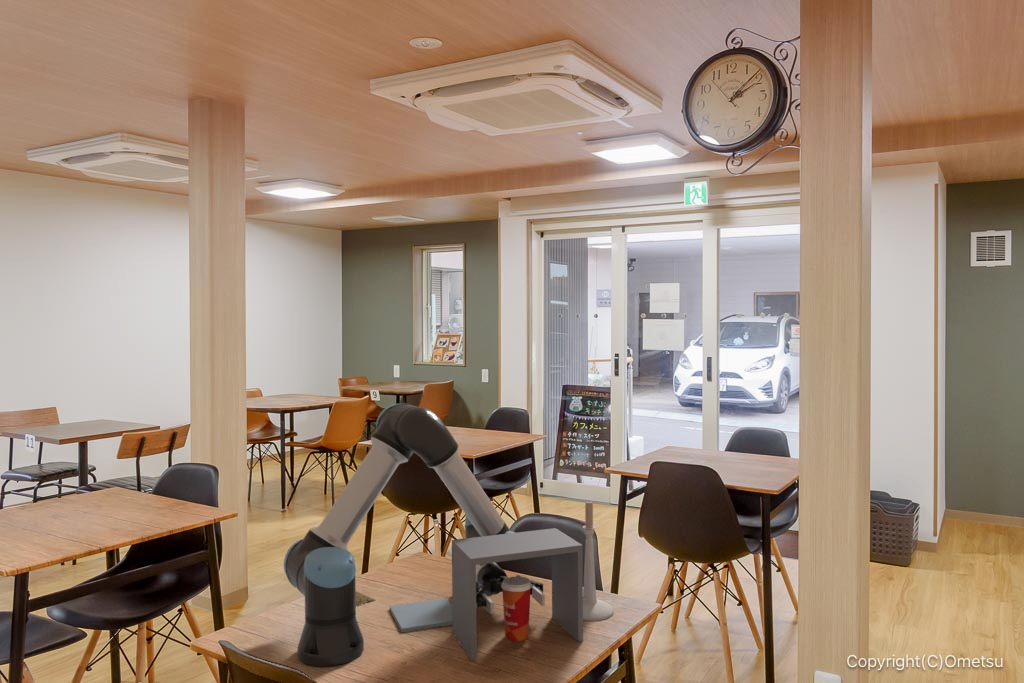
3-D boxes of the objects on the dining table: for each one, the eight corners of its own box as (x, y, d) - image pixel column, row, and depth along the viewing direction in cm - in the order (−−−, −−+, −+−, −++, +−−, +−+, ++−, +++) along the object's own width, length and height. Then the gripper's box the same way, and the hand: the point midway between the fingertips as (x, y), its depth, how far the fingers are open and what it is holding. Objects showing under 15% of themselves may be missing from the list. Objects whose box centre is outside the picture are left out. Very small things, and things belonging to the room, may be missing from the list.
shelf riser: (471, 660, 168) (470, 558, 168) (452, 633, 183) (451, 539, 183) (582, 640, 178) (582, 545, 178) (556, 616, 193) (555, 528, 193)
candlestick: (621, 608, 199) (621, 498, 198) (600, 624, 188) (599, 508, 187) (579, 599, 206) (579, 492, 205) (557, 614, 195) (556, 502, 194)
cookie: (377, 601, 206) (377, 598, 206) (340, 614, 197) (340, 610, 197) (352, 591, 214) (352, 587, 214) (316, 602, 206) (316, 599, 206)
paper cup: (497, 632, 183) (497, 577, 183) (526, 628, 186) (526, 573, 185) (506, 645, 176) (506, 587, 176) (536, 641, 178) (536, 584, 178)
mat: (401, 632, 184) (401, 628, 184) (389, 609, 199) (389, 605, 199) (463, 623, 190) (462, 619, 190) (446, 601, 205) (446, 597, 205)
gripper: (531, 584, 206) (563, 611, 186) (446, 596, 197) (470, 627, 177) (531, 557, 206) (563, 582, 186) (446, 569, 197) (470, 596, 177)
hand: (518, 604), depth 181 cm, fingers open, 13 cm apart
